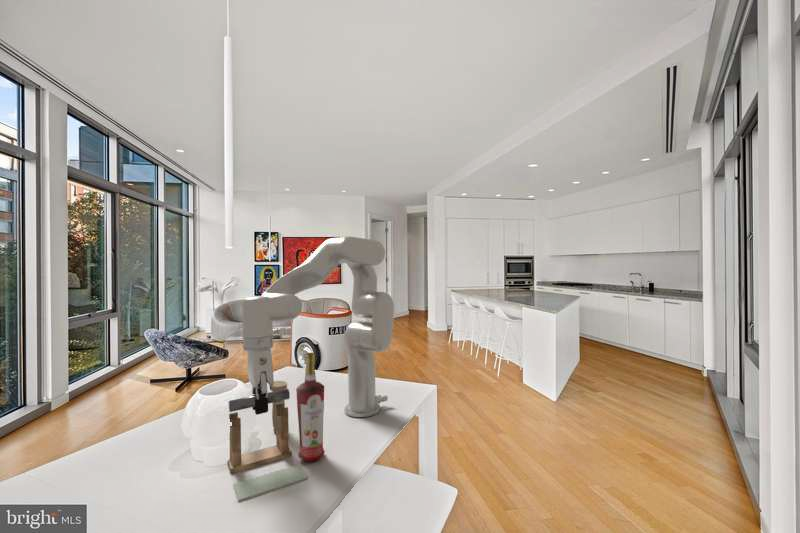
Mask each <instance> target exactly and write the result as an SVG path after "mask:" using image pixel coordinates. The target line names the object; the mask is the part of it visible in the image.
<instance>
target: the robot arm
mask: <svg viewBox="0 0 800 533" xmlns="http://www.w3.org/2000/svg"><path fill="white" fill-rule="evenodd" d="M385 257H386V250H385V247H384V245H383V243H382V242H380V241H379V240H376V239H370V238H364V237H363V238H362V237H356V236H339V237H336V236H335V237H331V238H327V239H326V240H325V241H324V242H322V243H321V244H320V245H319V246H318V247H317V249H315V251H313V252H312V253H311V254H310V256H309V257H307V259H306V260H305V261H304V262H302V263H301V264H300V265H299V266H297V267H295V268H293V269H291V270H290V271H289V272H287V273H285V274H284V275H282V276H280V277H279V278H277V279H276V280H275V281H274V282H273V283H272V284H270V286H268V287H267V288H266V289H265V291H263V293H262V294H261V295H256V296H255V295H254V296H249V297H245V298H244V299H243V300H241V301H242V302H241V314H242V315H241V320H242V349H243V351H244V352H247V354H246V355H247V375H248V382H249V383H250V385H251V390H252V395H251V396H255V395H256V399H255V407H252V410H253V411H254V413H255V415H261V414H265V413H268V412H269V404H268V393H269V392H268V385H270V386H273V384H274V380H275V379H274V368H273V367H274V366H273V357H272V356H273V355H272V348H274V330H273V326H274V325H273V322H276V321H277V322H278V321H280V322H282V321H284V322H285V321H286V322H287V321H292V320H294V319H296V318H298V317H299V316H300V315H301V312H302V310H303V303H302V301H301V299H300V298H299V297H298V296H296V294H299V293H301V292H304V291H306V290H307V291H308V290H309V289H313V288H316V287H318V286H320V285H321V284H323V283H324V282H325V281H326V280H327V278H328V277H329V276H330V275H331V274H332V273H333V271H334V270H335V269H337V268H338V266H339V265H341V264H347V266H348V268H349V269H350V270H351V273H352V277H353V285H352V299H351V311H352V313H353V315H354V316H356V317H357V318H364V319H372V322H370V321H360V320H358V321H353V322H351V323H349V324H348V325H347V327H346V328H345V331H344V342H345V347H346V352H347V366H348V367H347V370H348V371H347V374H348V375H347V376H348V377H347V379H348V382H347V384H348V404H347V405H346V406H344V414H345V415H347V416H349V417H351V418H352V417H353V418H367V417H371V416H374V415H377V414H378V413H379V412H380V411H381V405H380V404H381V403H383V402H387V401H388V395H381V394H377V395H376V359H375V355H374V353H373V352H384V351H386V350H388V349H389V348H390V345H391V344H392V339H393V331H394V330H393V327H394V316H395V315H394V314H395V304H394V303H395V302H394V301H393V298H392V296H391V295H390V294H389V293H388V292H384V291H378V276H377V273H376V270H375V268H374V267H373V266H377V265H380V264H382V262H383V261H384V259H385ZM270 386H269V387H270Z"/></svg>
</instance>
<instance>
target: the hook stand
mask: <svg viewBox="0 0 800 533" xmlns="http://www.w3.org/2000/svg"><path fill="white" fill-rule="evenodd" d="M228 416H229V417H228V419H230V422H232V426H230V433H229V458H230V459H229V460H228V461H227V460H226V462H227V463H226V464H227V466H228V470H229V473H230V475H231V474H234V473H237V472H241V471H244V470H248V469H251V468H256V467H258V466H262V465H265V464H269V463H271V462H275V461H279V460H282V459H286V458H289V457H291V456H292V455H293V454H292V453H293V452H292V450H291V448H290V445H289V444H290V443H289V441H290V440H289V438H290V435H289V432H290V431H289V426H290V425H289V407H288V406H287V407H286V406H285V408H284V403H283V402H282V403H277V404H276V433H275V434H276V437H275V438H276V445H272V446H268V447H265V448H262V449H256V450H254V451H250V452H247V453H242V428H241V427H242V425H241V423H242V421H241V417H239V412H238V411H234V412H229V413H228Z"/></svg>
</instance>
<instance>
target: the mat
mask: <svg viewBox="0 0 800 533" xmlns="http://www.w3.org/2000/svg"><path fill="white" fill-rule="evenodd" d="M305 480H308V476H307V474H306V473H305V471H304V470H303V468H302V466H301V465H300V464H299V463H297V464H295V465H292V466H287V467H285V468H282V469H278V470H275V471H272V472H269V473H266V474H263V475H258V476H256V477H252V478H248V479H246V480H243V481H239V482H237V483H234V484H233V488H234V493H235V495H236V496H235V497H236V498H237V502H239V503H240V502H242V501H245V500H247V499H251V498H254V497H257V496H259V495H263V494H266V493H269V492H271V491H274V490H279V489H281V488H283V487H287V486H289V485H292V484H293V485H294V484H296V483H299V482H302V481H305Z"/></svg>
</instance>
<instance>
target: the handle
mask: <svg viewBox="0 0 800 533" xmlns="http://www.w3.org/2000/svg"><path fill="white" fill-rule="evenodd" d="M268 385H269V384H268ZM284 389H288V382H286V381H283V380H276V381H274V384H273V386H270V385H269V390H270V392H274V391H279V390H284ZM282 402H283V403H284V408H286V406H285V404H286V403H285V402H286V401H285V400H282V401H278V402H273V403H272V406H271V407H272V408H271V409H272V410H271V417H272V419H271V420H272V426H273V433H274V434H276V404H277V403H282Z"/></svg>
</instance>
